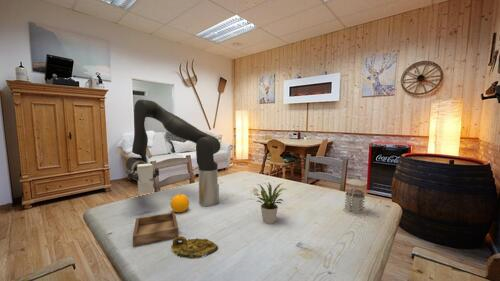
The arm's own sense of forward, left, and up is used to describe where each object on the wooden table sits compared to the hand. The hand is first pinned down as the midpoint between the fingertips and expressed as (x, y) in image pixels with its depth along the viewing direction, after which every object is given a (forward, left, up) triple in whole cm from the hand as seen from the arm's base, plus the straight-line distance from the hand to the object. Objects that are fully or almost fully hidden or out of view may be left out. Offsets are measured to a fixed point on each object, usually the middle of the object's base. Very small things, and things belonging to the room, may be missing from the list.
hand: (146, 177), depth 90 cm
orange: (-13, +2, -17) cm, 22 cm away
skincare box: (0, -2, -7) cm, 8 cm away
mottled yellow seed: (-15, +34, -17) cm, 40 cm away
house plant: (-47, +27, -17) cm, 57 cm away
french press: (-85, +35, -17) cm, 94 cm away
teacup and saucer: (-54, -1, -17) cm, 57 cm away
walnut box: (-3, +18, -17) cm, 24 cm away
